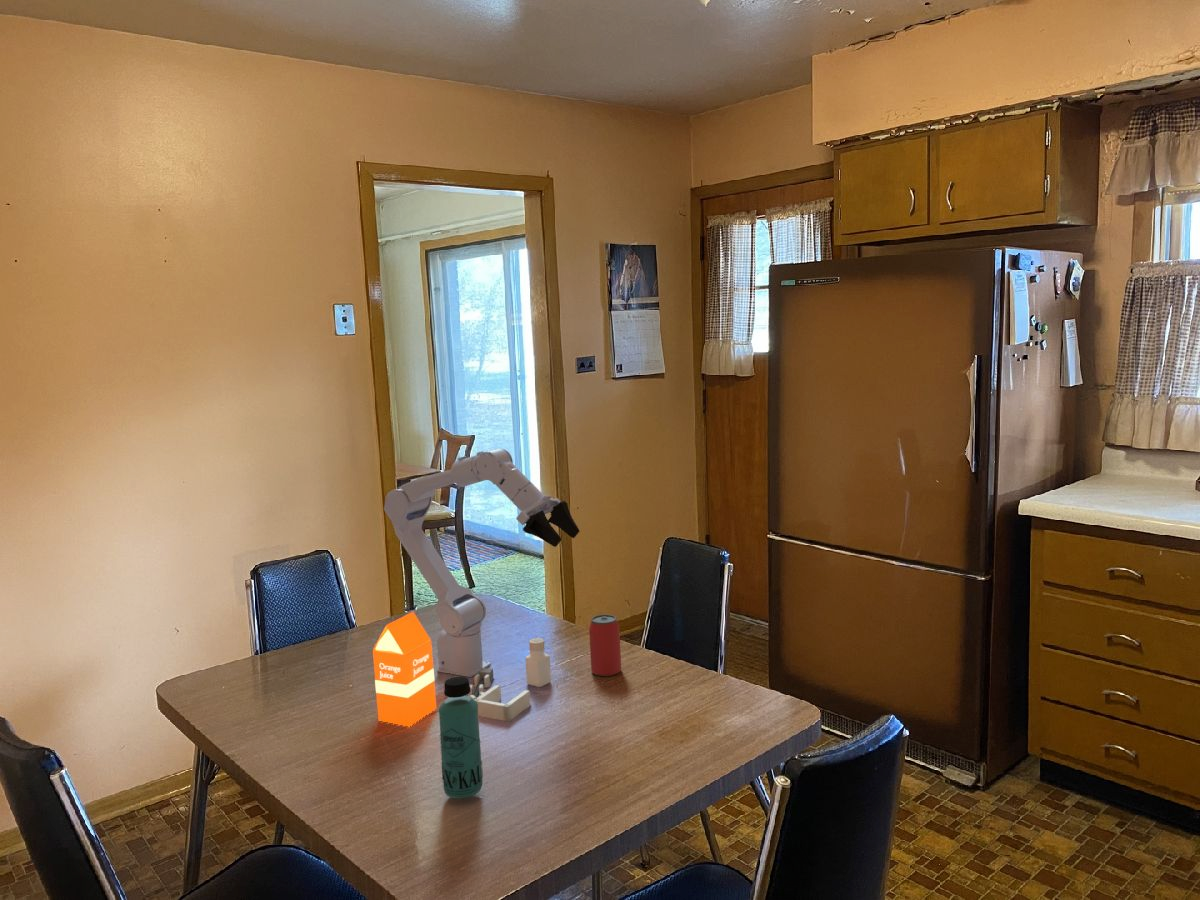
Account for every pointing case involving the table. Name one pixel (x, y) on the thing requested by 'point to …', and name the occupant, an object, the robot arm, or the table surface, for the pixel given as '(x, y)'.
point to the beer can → (605, 645)
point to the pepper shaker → (537, 664)
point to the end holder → (501, 704)
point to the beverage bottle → (460, 740)
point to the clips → (481, 687)
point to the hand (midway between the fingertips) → (567, 539)
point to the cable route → (483, 673)
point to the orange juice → (404, 672)
